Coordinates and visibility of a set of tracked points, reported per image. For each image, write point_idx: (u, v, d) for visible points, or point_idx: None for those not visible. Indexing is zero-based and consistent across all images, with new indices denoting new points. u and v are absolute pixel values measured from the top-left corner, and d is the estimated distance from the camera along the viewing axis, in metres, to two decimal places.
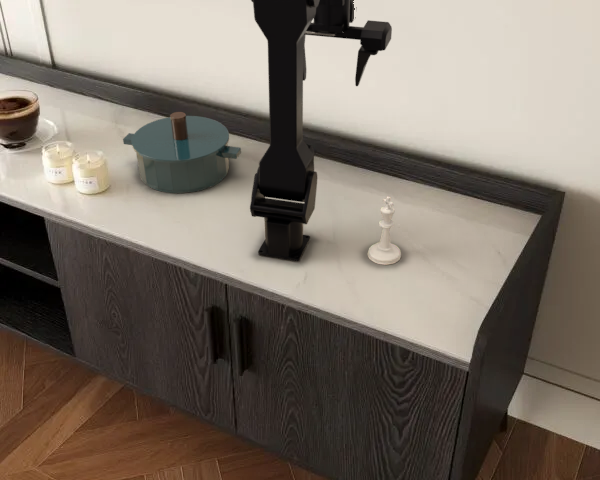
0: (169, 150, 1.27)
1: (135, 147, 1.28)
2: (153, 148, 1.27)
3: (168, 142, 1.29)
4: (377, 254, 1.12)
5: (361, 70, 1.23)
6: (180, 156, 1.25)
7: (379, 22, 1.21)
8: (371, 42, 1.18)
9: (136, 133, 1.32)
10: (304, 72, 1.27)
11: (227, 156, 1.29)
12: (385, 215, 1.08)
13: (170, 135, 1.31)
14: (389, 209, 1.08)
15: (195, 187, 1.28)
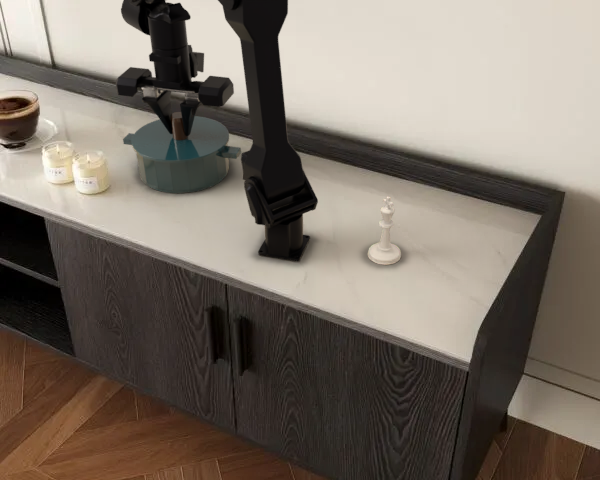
0: (169, 150, 1.27)
1: (135, 147, 1.28)
2: (153, 148, 1.27)
3: (168, 142, 1.29)
4: (377, 254, 1.12)
5: (187, 122, 1.26)
6: (180, 156, 1.25)
7: (219, 77, 1.23)
8: (208, 98, 1.21)
9: (136, 133, 1.32)
10: (171, 126, 1.29)
11: (227, 156, 1.29)
12: (385, 215, 1.08)
13: (170, 135, 1.31)
14: (389, 209, 1.08)
15: (195, 187, 1.28)
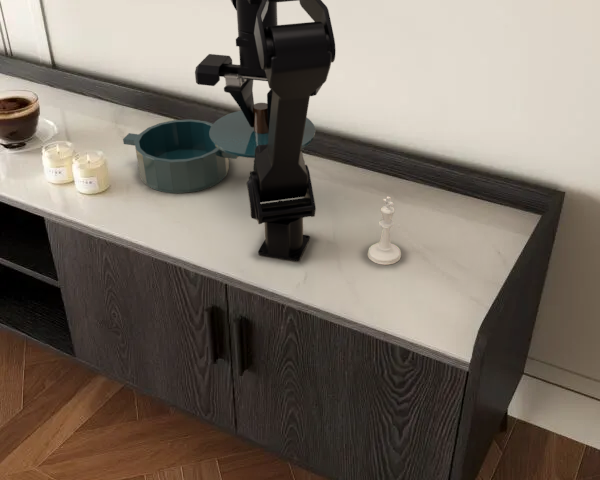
0: (253, 144, 1.15)
1: (215, 141, 1.16)
2: (234, 142, 1.16)
3: (250, 136, 1.18)
4: (377, 254, 1.12)
5: None
6: None
7: None
8: None
9: (213, 126, 1.20)
10: (252, 119, 1.18)
11: (227, 156, 1.29)
12: (385, 215, 1.08)
13: (250, 128, 1.20)
14: (389, 209, 1.08)
15: (195, 187, 1.28)
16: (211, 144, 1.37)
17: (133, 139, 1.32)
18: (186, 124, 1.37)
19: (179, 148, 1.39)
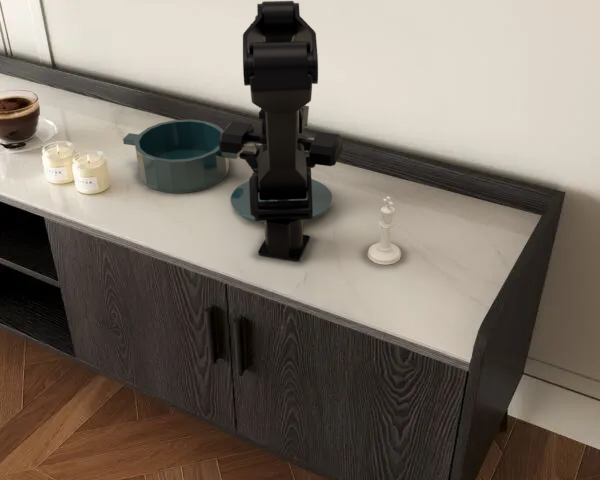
0: None
1: (235, 206, 1.22)
2: None
3: None
4: (377, 254, 1.12)
5: None
6: None
7: (329, 134, 1.17)
8: (320, 158, 1.15)
9: (235, 191, 1.26)
10: None
11: (227, 156, 1.29)
12: (385, 215, 1.08)
13: None
14: (389, 209, 1.08)
15: (195, 187, 1.28)
16: (211, 144, 1.37)
17: (133, 139, 1.32)
18: (186, 124, 1.37)
19: (179, 148, 1.39)
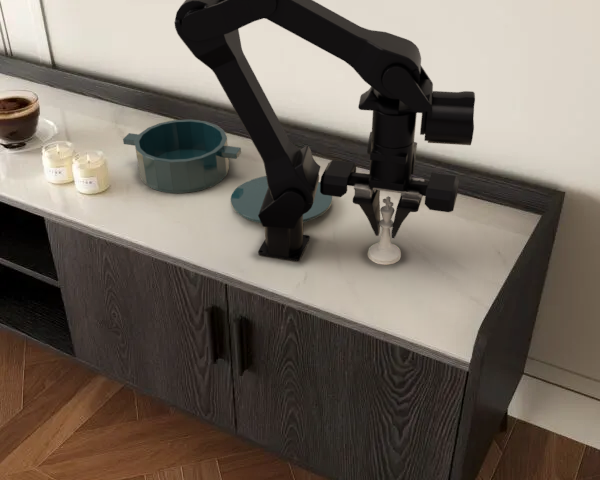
0: None
1: (235, 206, 1.22)
2: (253, 208, 1.21)
3: None
4: (377, 254, 1.12)
5: (399, 224, 1.08)
6: None
7: (445, 175, 1.05)
8: (437, 203, 1.02)
9: (235, 191, 1.26)
10: (378, 228, 1.11)
11: (227, 156, 1.29)
12: (385, 215, 1.08)
13: None
14: (389, 209, 1.08)
15: (195, 187, 1.28)
16: (211, 144, 1.37)
17: (133, 139, 1.32)
18: (186, 124, 1.37)
19: (179, 148, 1.39)
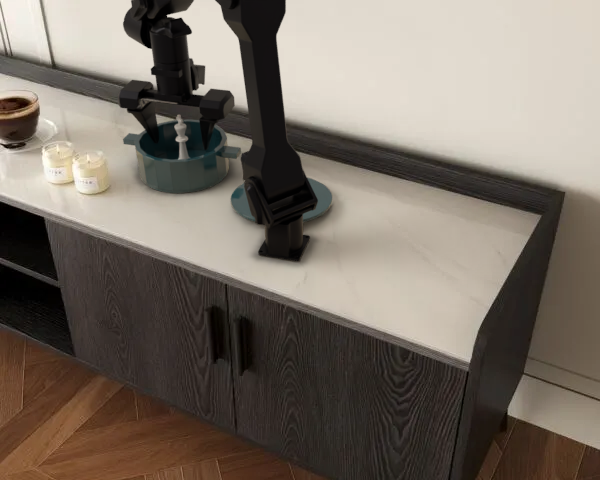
0: None
1: (235, 206, 1.22)
2: None
3: None
4: None
5: (206, 136, 1.27)
6: None
7: (220, 90, 1.25)
8: (210, 111, 1.22)
9: (235, 191, 1.26)
10: (156, 136, 1.31)
11: (227, 156, 1.29)
12: (177, 130, 1.29)
13: None
14: (181, 125, 1.29)
15: (195, 187, 1.28)
16: (211, 144, 1.37)
17: (133, 139, 1.32)
18: (186, 124, 1.37)
19: (179, 148, 1.39)
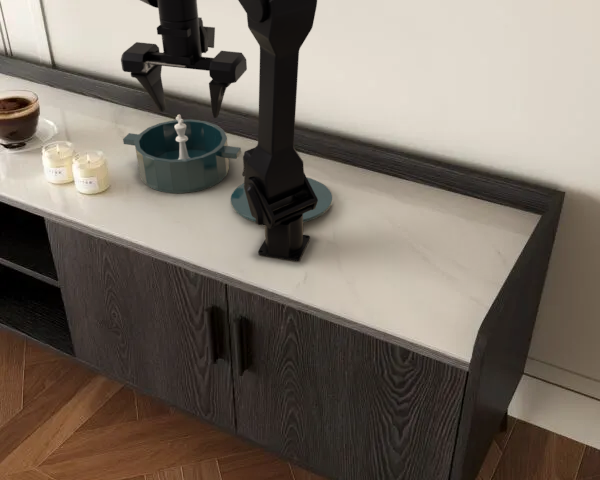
0: None
1: (235, 206, 1.22)
2: None
3: None
4: None
5: (216, 102, 1.18)
6: None
7: (232, 52, 1.16)
8: (220, 74, 1.13)
9: (235, 191, 1.26)
10: (161, 103, 1.22)
11: (227, 156, 1.29)
12: (177, 130, 1.29)
13: None
14: (181, 125, 1.29)
15: (195, 187, 1.28)
16: (211, 144, 1.37)
17: (133, 139, 1.32)
18: (186, 124, 1.37)
19: (179, 148, 1.39)
